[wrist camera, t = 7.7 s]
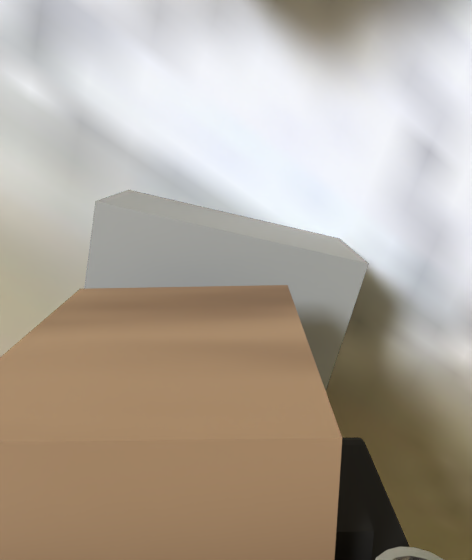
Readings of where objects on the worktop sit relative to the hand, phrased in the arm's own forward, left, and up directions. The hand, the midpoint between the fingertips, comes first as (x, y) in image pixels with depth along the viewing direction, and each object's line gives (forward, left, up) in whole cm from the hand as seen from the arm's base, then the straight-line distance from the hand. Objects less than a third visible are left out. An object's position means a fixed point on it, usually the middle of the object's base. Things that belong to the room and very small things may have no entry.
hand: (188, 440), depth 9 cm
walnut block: (0, 0, -1) cm, 1 cm away
